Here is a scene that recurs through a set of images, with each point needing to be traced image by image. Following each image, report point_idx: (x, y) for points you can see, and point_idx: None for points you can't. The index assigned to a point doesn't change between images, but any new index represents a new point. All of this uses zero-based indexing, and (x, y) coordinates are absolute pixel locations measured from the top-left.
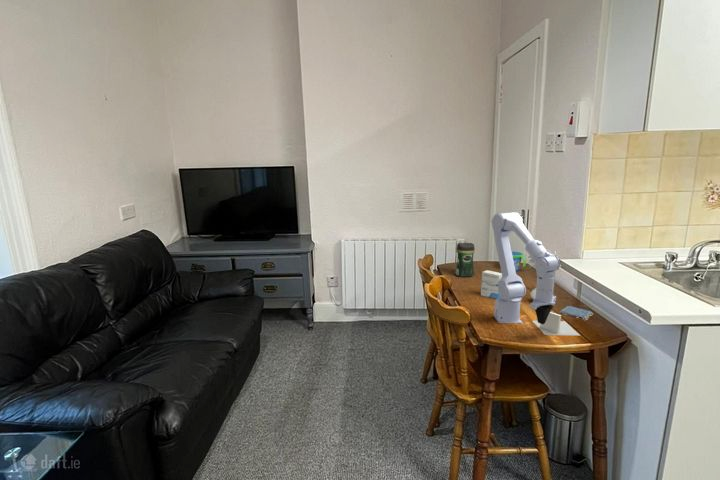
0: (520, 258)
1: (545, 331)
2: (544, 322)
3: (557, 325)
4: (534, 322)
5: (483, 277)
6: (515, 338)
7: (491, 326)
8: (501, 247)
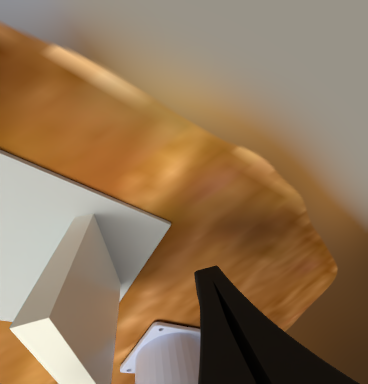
0: None
1: (137, 247)
2: (212, 275)
3: (83, 248)
4: None
5: None
6: (283, 243)
7: None
8: None
